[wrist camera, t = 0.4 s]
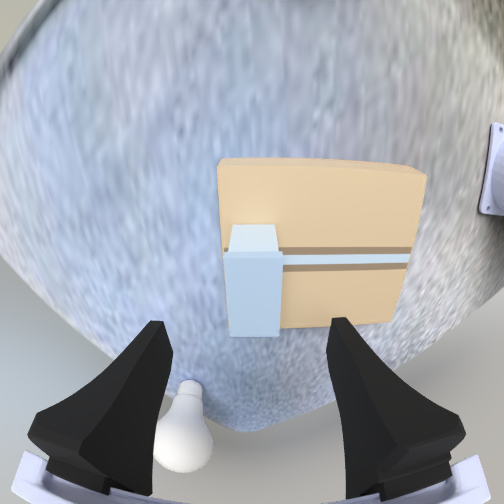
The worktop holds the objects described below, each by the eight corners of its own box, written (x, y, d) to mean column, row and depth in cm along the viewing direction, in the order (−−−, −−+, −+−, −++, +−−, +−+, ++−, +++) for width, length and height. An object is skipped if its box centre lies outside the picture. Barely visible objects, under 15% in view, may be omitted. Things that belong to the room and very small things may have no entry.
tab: (277, 222, 17) (283, 257, 14) (275, 293, 20) (279, 336, 16) (230, 223, 17) (223, 257, 14) (234, 293, 20) (229, 336, 16)
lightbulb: (190, 357, 27) (170, 456, 18) (231, 385, 29) (225, 477, 20) (154, 375, 29) (131, 461, 20) (194, 400, 31) (181, 481, 22)
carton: (409, 165, 18) (427, 175, 15) (380, 302, 24) (390, 322, 21) (222, 158, 18) (217, 167, 16) (231, 306, 24) (228, 328, 22)
